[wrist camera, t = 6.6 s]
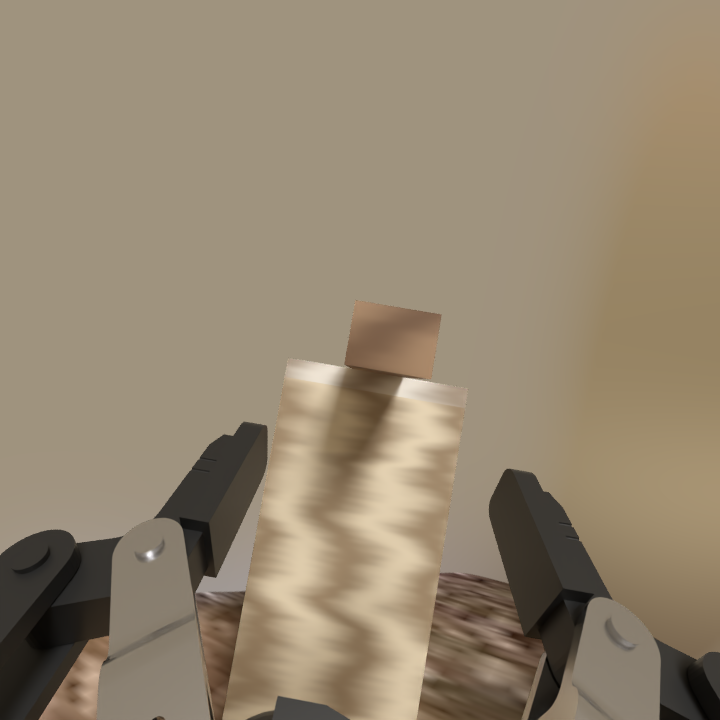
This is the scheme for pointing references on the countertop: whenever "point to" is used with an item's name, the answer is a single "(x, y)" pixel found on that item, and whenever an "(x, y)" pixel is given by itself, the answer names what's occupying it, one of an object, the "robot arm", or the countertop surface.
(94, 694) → the countertop surface
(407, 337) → the tan wooden plank
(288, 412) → the stand
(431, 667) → the countertop surface
